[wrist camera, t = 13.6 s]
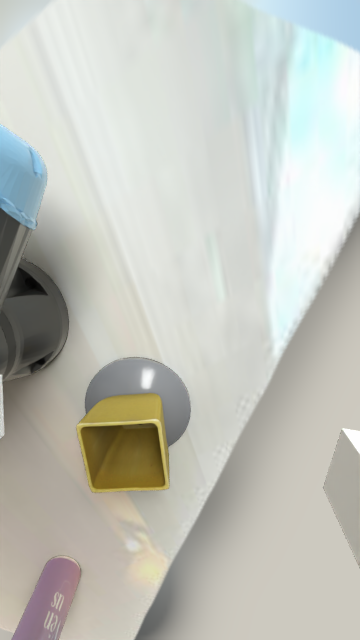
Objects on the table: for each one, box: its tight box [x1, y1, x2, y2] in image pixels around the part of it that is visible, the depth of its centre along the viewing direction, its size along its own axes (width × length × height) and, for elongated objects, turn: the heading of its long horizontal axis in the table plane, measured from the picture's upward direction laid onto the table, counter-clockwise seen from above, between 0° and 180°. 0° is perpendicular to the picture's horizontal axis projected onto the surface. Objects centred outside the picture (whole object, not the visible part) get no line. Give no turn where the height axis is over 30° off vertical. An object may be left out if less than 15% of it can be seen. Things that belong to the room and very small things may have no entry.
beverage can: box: [12, 556, 81, 640], centre depth 44 cm, size 6×6×15 cm
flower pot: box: [76, 393, 170, 493], centre depth 36 cm, size 9×9×9 cm
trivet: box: [85, 357, 191, 446], centre depth 41 cm, size 14×14×1 cm
